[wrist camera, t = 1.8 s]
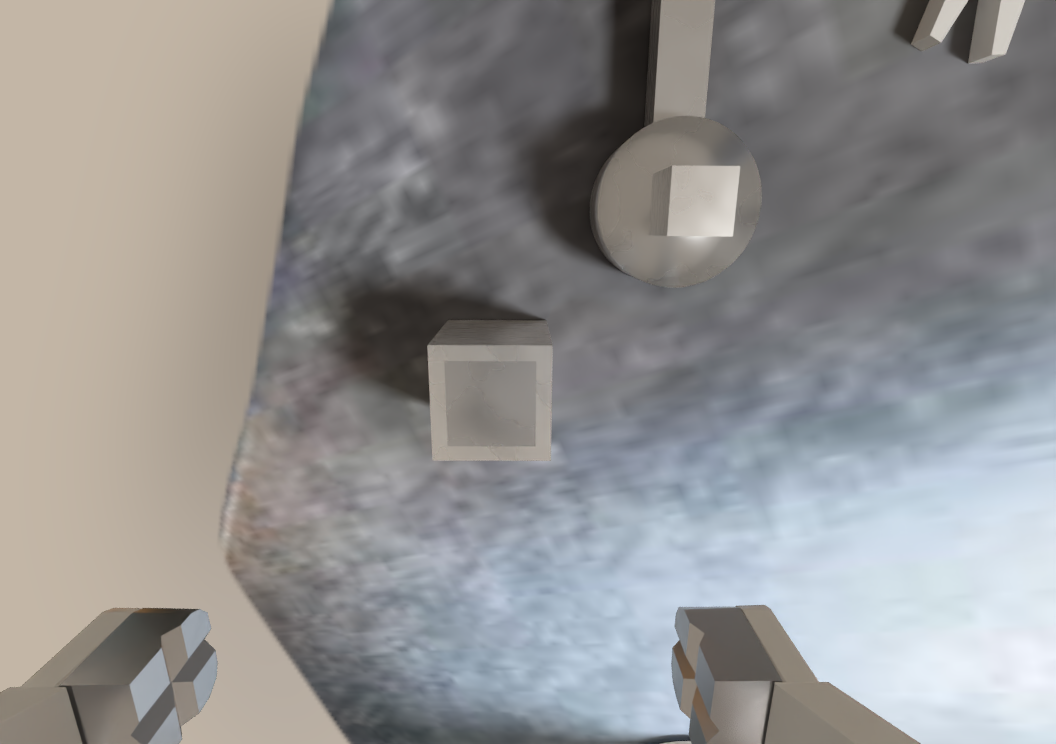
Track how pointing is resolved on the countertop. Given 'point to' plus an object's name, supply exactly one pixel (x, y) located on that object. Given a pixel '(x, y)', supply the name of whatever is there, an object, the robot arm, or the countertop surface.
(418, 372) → the countertop surface
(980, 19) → the pliers
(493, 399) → the white open box
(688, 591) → the countertop surface
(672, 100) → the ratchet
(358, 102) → the countertop surface
